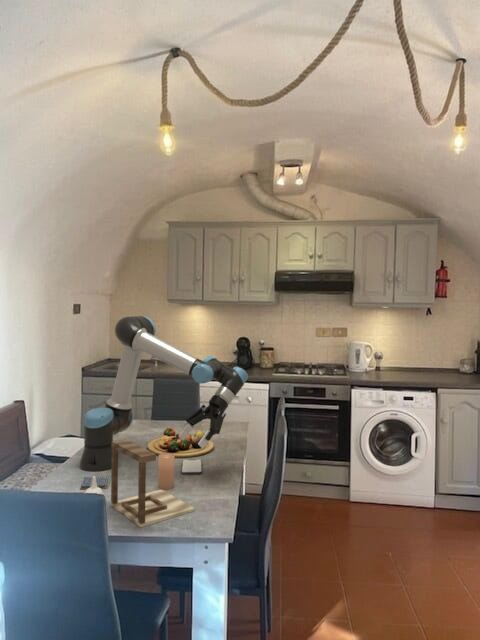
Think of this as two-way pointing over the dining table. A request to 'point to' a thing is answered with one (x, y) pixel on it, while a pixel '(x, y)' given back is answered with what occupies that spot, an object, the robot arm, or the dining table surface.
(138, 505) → the wooden c-frame stand
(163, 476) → the tan cylinder
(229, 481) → the dining table surface
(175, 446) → the wooden plate with food
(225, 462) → the dining table surface
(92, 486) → the garlic bulb
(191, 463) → the phone case
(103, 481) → the woven mat
